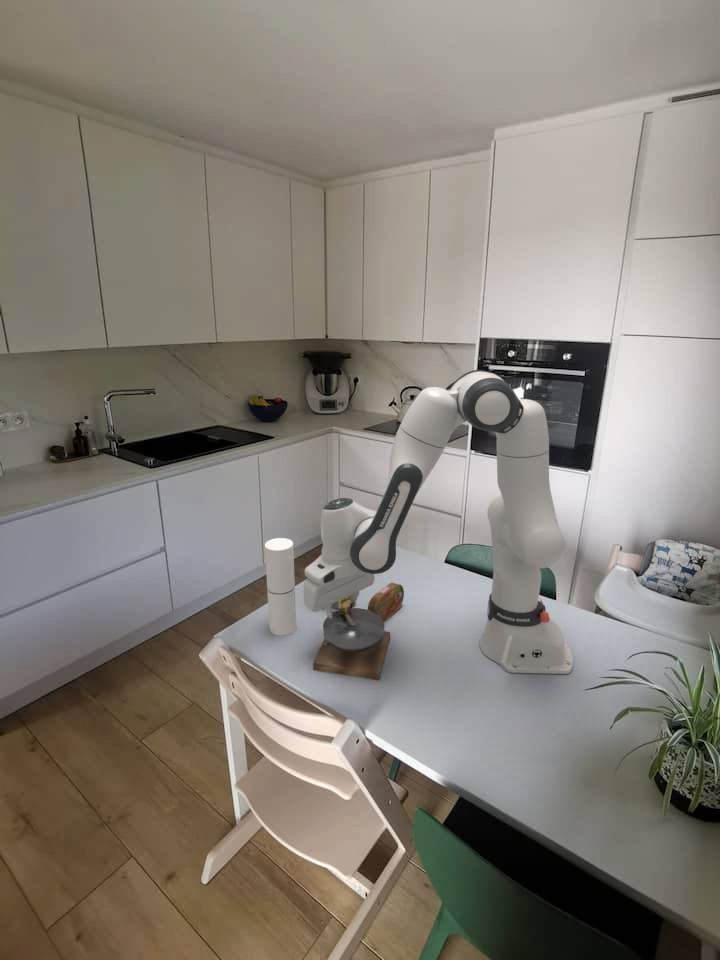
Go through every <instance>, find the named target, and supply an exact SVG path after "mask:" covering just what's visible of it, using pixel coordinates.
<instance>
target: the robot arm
mask: <svg viewBox="0 0 720 960" xmlns="http://www.w3.org/2000/svg"><path fill="white" fill-rule="evenodd" d="M547 421H548V420H547V416H546V412H545V409H544V407H543V406H542V405H541V404H540V403H539V402H537V401H535V400H533V399H528V398H519V397H518V396H517V394H516V392H515V390H514V389H513V388H512V387H511V385H510V384H509V383H507V382H506V381H505V380H504V379H503V378H501V377H500V376H499V375H497V374H495V373H493V372H490V371H487V370H484V369H473V370H469V371H468V372H465V373H464V374H463V375H461V376H460V377H459V378H457V379H456V380H455V381H453V382H452V383H450V384H448V385H447V387H446V388H442V387H440V386H439V387H438V386H429V387H426V388H423V389H422V390H421V391H420V392H419V393H418V394H417V396H416V398H415V399H414V400H413V401H412V403H411V405H410V407H409V408H408V410H407V411H406V413H405V415H404V416H403V419H402V421H401V423H400V425H399V426H398V427H399V428H398V430H397V431H396V435H395V437H394V440H393V443H392V446H391V451H390V456H389V468H388V469H389V471H388V477H387V483H386V487H385V491H384V494H383V496H382V498H381V500H380V502H379V505H378V507H377V509H376V510H374V509H371V508H368V507H365V506H363V505H361V504H359V503H357V501H355V500H354V499H352V498H349V497H348V498H347V497H342V498H341V497H340V498H335V499H333V500H331V501H329V502H327V503H326V505H324V506H323V508H322V510H321V515H320V538H321V541H322V547H321V555H319V556H318V557H317V558H316V559H315V560H314V561H313V562H311V563H310V564H309V565H307V566H306V567H305V569H304V575H305V577H307V578H306V579H305V581H304V583H303V604H304V606H305V607H306V608H307V609H308V610H310V611H311V612H313V613H316V612H317V611H318V612H319V611H320V610H322V609H325V611H326V616H327V617H329V618H330V619H331V618H333V617H335V616H336V615H335V613H336V612H335V611H336V610H335V609H332V608H330V607H332V604H333V603H335V602H337V601H339V600H341V599H343V598H346V597H348V596H350V595H351V596H350V608H356V606H357V604H356V603H357V600H358V598H359V595H360V591H362V590H364V589H366V588H368V587H371V586H372V585H373V584H374V582H375V575H377V574H378V575H379V574H383V573H386V572H387V571H389V570H390V569H391V568H392V567H393V565H395V562H396V557H397V538H398V537H399V534H400V531H401V529H402V526H403V525H404V522H405V520H406V517H408V513H409V511H410V508H411V506H413V503H414V500H415V499H416V497H417V495H418V493H419V492H420V490H421V488H422V487H423V485H424V483H425V482H426V480H427V479H428V477H429V475H430V474H431V472H432V471H433V470H434V468H435V466H436V465H437V463H438V462H439V459H440V458H441V456H442V455H443V452H444V450H445V449H446V446H447V445H448V442H449V440H450V439H451V435H452V434H453V433H454V432H455V431H456V429H457V428H458V427H459V426H461V425H462V424H465V423H466V422H468V423H469V424H470V425H471V426H472V427H474V428H476V429H478V430H482V431H485V432H486V431H487V432H491V433H492V432H493V433H495V437H496V477H497V481H496V482H497V485H498V486H497V487H498V488H499V491H500V494H501V495H499V496H497V497H495V498H494V499H493V500H492V501H491V502H490V503H489V506H488V507H487V508H488V510H487V519H488V522H489V527H490V535H491V551H492V560H493V575H492V584H491V592H490V594H489V597H488V601H487V611H486V615H487V620H486V624H485V627H484V630H483V632H482V635H481V637H480V639H479V648H480V649H481V652H482V653H483V654H484V655H485V656H486V657H487V658H488V659H490V660H492V661H493V662H495V663H496V664H498V665H499V666H500V667H502V669H503V670H504V671H506V672H508V673H511V674H545V675H546V674H547V675H549V674H551V675H567V674H570V673H571V672H572V670H573V669H574V668H573V667H574V656H573V653H572V650H571V648H570V646H569V645H568V643H567V641H566V640H565V638H564V635H563V634H564V633H563V632H562V630H561V628H560V626H559V625H558V624H557V623H556V622H554V621H553V620H551V619H550V615H549V612H547V610H546V609H547V608H546V606H545V604H544V602H543V600H542V599H541V598H540V591H541V583H542V572H541V571H542V570H541V569H548V568H549V567H552V566H553V565H555V564H557V563H558V562H559V561H560V560H561V559H562V557H563V556H564V555H565V550H566V539H565V537H564V535H563V533H562V531H561V528H560V525H559V523H558V519H557V514H556V510H555V506H554V505H555V504H554V501H553V495H552V491H551V486H550V485H551V484H550V437H549V427H548V422H547ZM539 598H540V601H539Z"/></svg>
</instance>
